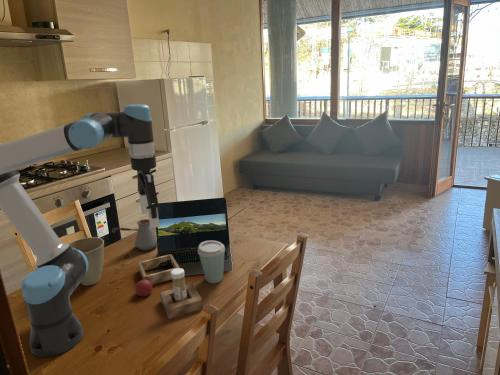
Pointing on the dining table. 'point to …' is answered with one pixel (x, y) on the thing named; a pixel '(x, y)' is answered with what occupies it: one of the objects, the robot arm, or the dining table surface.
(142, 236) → the coffee pot
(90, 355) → the dining table surface
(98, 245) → the plant pot
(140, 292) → the fruit
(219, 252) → the disposable coffee cup
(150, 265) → the open square frame
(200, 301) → the collar block
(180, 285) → the sprinkles bottle
